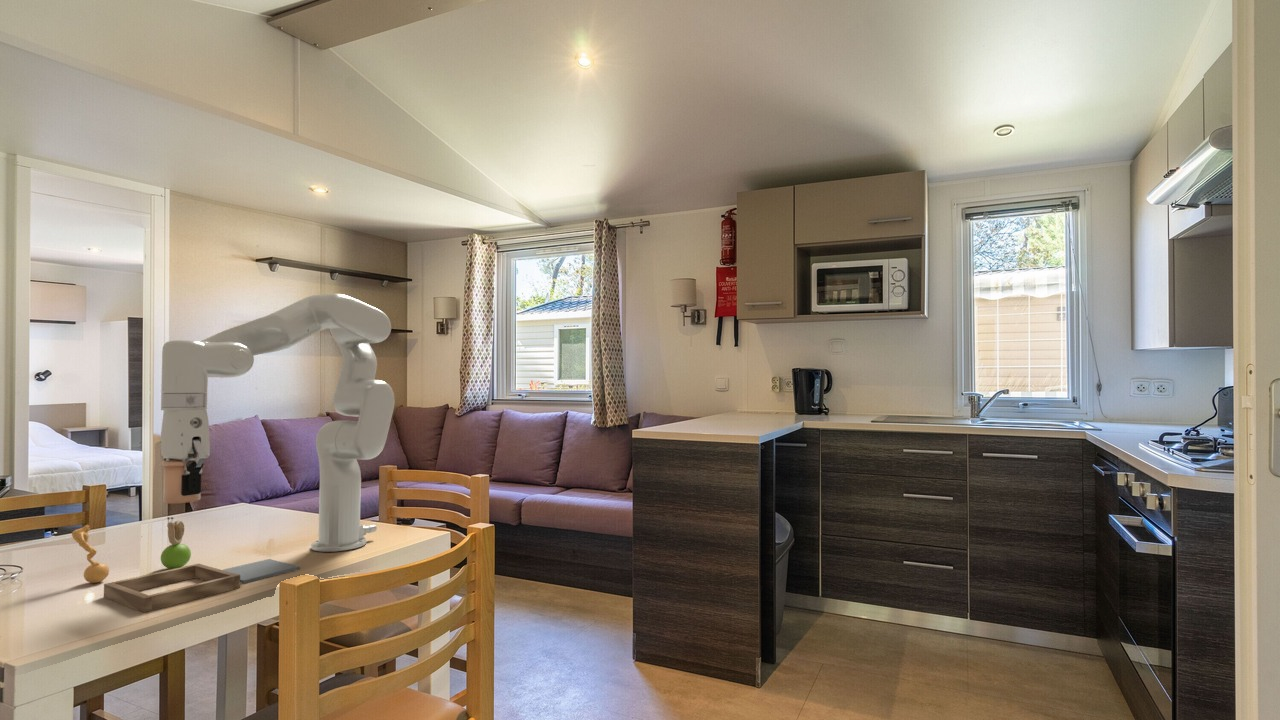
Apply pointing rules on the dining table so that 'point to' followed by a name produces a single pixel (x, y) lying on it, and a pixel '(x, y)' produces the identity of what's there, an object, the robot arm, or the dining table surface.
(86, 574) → the figurine
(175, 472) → the terracotta pot
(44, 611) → the dining table surface
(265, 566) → the grey mat
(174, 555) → the snail figurine
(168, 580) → the frame
